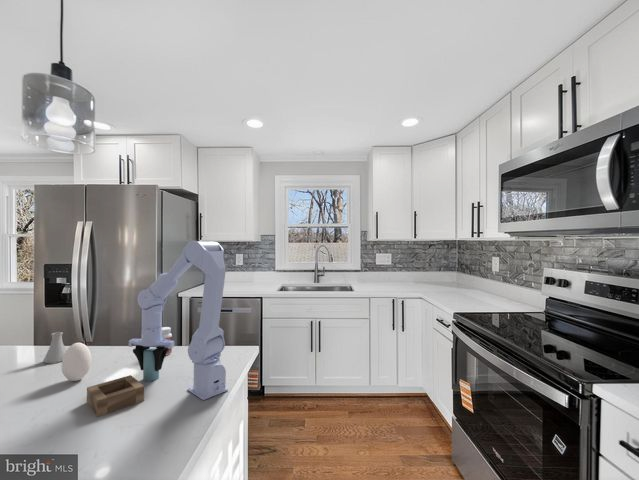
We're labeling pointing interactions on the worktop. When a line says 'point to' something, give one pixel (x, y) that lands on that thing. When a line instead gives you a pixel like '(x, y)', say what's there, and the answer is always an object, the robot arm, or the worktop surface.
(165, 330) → the pill bottle
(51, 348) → the flask
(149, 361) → the teal peg
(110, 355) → the worktop surface
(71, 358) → the egg
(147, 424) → the worktop surface
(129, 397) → the walnut holder
